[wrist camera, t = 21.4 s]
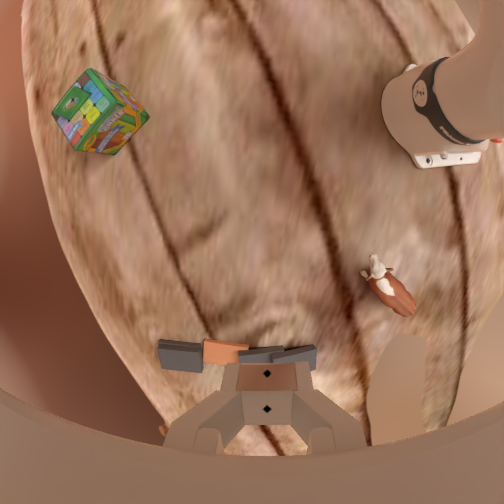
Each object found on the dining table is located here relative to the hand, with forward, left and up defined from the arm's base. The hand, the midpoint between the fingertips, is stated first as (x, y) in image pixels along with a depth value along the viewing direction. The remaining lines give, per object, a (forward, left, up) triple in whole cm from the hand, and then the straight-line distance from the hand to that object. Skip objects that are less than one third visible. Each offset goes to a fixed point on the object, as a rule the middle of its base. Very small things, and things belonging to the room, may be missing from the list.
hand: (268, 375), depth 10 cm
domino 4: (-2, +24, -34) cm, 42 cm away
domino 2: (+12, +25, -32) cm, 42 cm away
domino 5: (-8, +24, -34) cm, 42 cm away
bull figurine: (-18, +9, -35) cm, 40 cm away
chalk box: (+25, -19, -35) cm, 46 cm away
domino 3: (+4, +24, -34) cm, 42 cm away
